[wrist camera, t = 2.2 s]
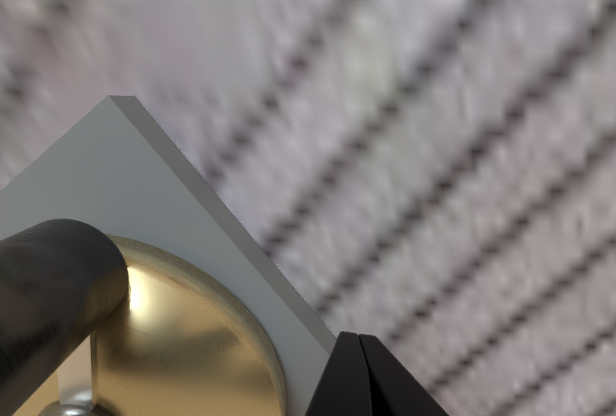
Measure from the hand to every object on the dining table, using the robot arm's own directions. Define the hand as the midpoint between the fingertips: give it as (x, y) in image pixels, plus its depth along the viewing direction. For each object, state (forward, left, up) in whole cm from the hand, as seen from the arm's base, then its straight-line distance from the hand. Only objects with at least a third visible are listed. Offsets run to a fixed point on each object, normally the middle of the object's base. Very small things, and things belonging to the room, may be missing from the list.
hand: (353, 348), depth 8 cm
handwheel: (+1, +10, -3) cm, 10 cm away
